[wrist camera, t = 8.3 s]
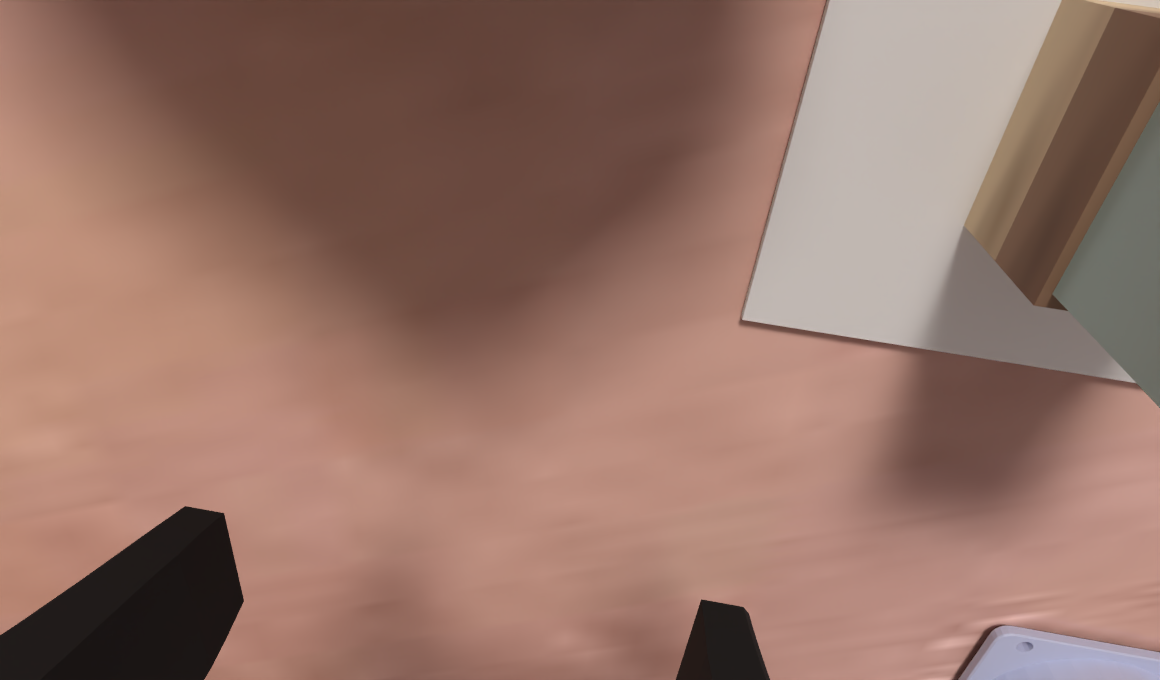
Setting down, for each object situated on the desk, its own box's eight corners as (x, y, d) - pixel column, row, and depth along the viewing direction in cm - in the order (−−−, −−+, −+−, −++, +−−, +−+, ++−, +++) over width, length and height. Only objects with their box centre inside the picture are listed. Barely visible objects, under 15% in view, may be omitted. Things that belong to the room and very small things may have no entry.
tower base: (1321, 30, 14) (1409, 46, 12) (1178, 257, 17) (1234, 297, 15) (1064, -5, 14) (1115, 7, 12) (963, 225, 17) (994, 261, 15)
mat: (1719, -156, 12) (1740, -157, 12) (1272, 399, 18) (1280, 406, 18) (895, -254, 13) (900, -257, 12) (741, 314, 19) (742, 319, 19)
